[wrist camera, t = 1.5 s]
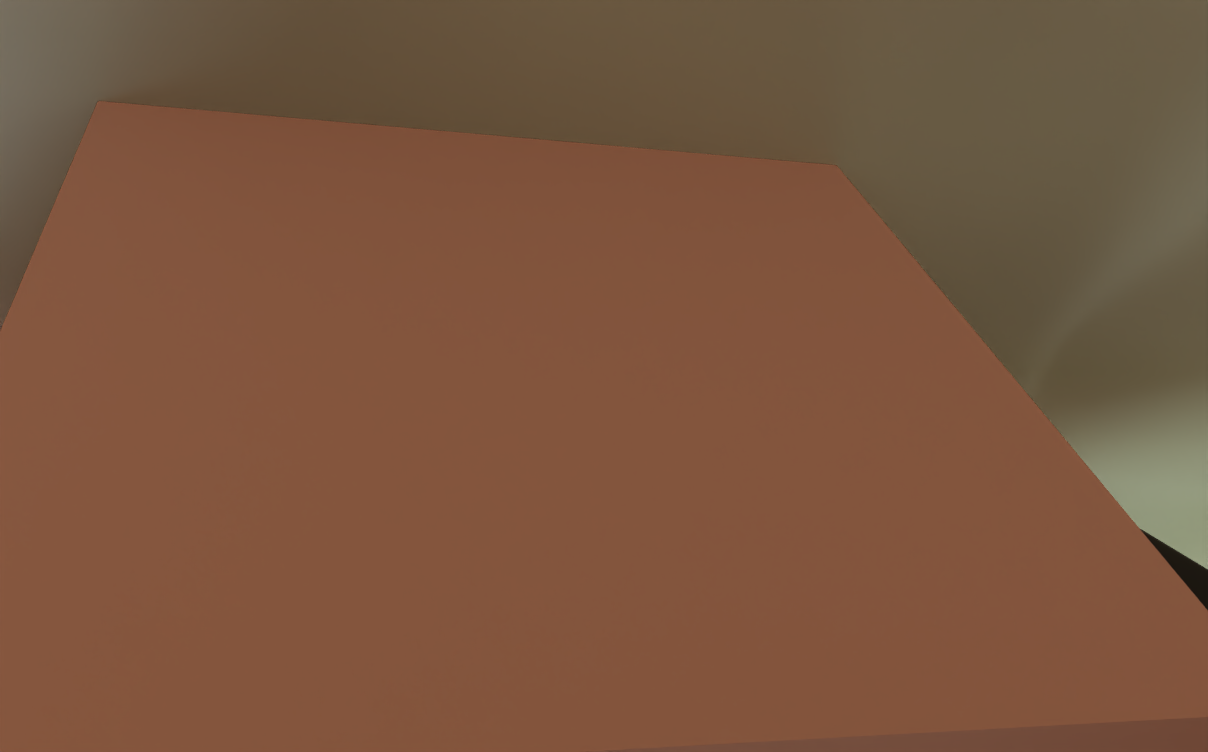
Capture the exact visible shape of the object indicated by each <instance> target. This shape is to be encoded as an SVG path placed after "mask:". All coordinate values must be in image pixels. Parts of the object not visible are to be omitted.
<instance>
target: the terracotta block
mask: <svg viewBox="0 0 1208 752" xmlns="http://www.w3.org/2000/svg"><path fill="white" fill-rule="evenodd" d="M0 752H1208V610H1207V609H1206V608H1205V607H1204V605H1203V604H1202V603H1201V602H1200V601H1199V599H1198V598H1197V597H1196V596H1195V595H1194V593H1193V592H1192V591H1191V590H1190V589H1189V587H1188V586H1187V585H1186V584H1185V583H1184V581H1183V580H1182V579H1181V578H1180V577H1179V575H1178V574H1177V573H1176V572H1175V571H1174V569H1173V568H1172V567H1171V566H1170V565H1169V563H1168V562H1167V561H1166V560H1165V559H1164V557H1163V556H1162V555H1161V554H1160V553H1159V551H1158V550H1157V549H1156V548H1155V547H1154V545H1153V544H1152V543H1151V542H1150V541H1149V539H1148V538H1147V537H1146V536H1145V535H1144V533H1143V532H1142V531H1141V530H1140V529H1139V527H1138V526H1137V525H1136V524H1135V523H1134V521H1133V520H1132V519H1131V518H1130V517H1129V515H1128V514H1127V513H1126V512H1125V511H1124V509H1123V508H1122V507H1121V506H1120V505H1119V503H1118V502H1117V501H1116V500H1115V499H1114V497H1113V496H1112V495H1111V494H1110V493H1109V491H1108V490H1107V489H1106V488H1105V487H1104V485H1103V484H1102V483H1101V482H1100V481H1099V479H1098V478H1097V477H1096V476H1095V475H1094V473H1093V472H1092V471H1091V470H1090V469H1089V467H1088V466H1087V465H1086V464H1085V463H1084V461H1083V460H1082V459H1081V458H1080V457H1079V455H1078V454H1077V453H1076V452H1075V451H1074V449H1073V448H1072V447H1071V446H1070V445H1069V443H1068V442H1067V441H1066V440H1065V439H1064V437H1063V436H1062V435H1061V434H1060V433H1059V431H1058V430H1057V429H1056V428H1055V427H1054V425H1053V424H1052V423H1051V422H1050V421H1049V419H1048V418H1047V417H1046V416H1045V415H1044V413H1043V412H1042V411H1041V410H1040V409H1039V407H1038V406H1037V405H1036V404H1035V403H1034V401H1033V400H1032V399H1031V398H1030V397H1029V395H1028V394H1027V393H1026V392H1025V391H1024V389H1023V388H1022V387H1021V386H1020V385H1019V383H1018V382H1017V381H1016V380H1015V379H1014V377H1013V376H1012V375H1011V374H1010V373H1009V371H1008V370H1007V369H1006V368H1005V367H1004V365H1003V364H1002V363H1001V362H1000V361H999V359H998V358H997V357H996V356H995V355H994V353H993V352H992V351H991V350H990V349H989V347H988V346H987V345H986V344H985V343H984V341H983V340H982V339H981V338H980V337H979V335H978V334H977V333H976V332H975V331H974V329H973V328H972V327H971V326H970V325H969V323H968V322H967V321H966V320H965V319H964V317H963V316H962V315H961V314H960V313H959V311H958V310H957V309H956V308H955V307H954V305H953V304H952V303H951V302H950V301H949V299H948V298H947V297H946V296H945V295H944V293H943V292H942V291H941V290H940V289H939V287H938V286H937V285H936V284H935V283H934V281H933V280H932V279H931V278H930V277H929V275H928V274H927V273H926V272H925V271H924V269H923V268H922V267H921V266H920V265H919V263H918V262H917V261H916V260H915V259H914V257H913V256H912V255H911V254H910V253H909V251H908V250H907V249H906V248H905V247H904V245H903V244H902V243H901V242H900V241H899V239H898V238H897V237H896V236H895V235H894V233H893V232H892V231H891V230H890V229H889V227H888V226H887V225H886V224H885V223H884V221H883V220H882V219H881V218H880V217H879V215H878V214H877V213H876V212H875V211H874V209H873V208H872V207H871V206H870V205H869V203H868V202H867V201H866V200H865V199H864V197H863V196H862V195H861V194H860V193H859V191H858V190H857V189H856V188H855V187H854V185H853V184H852V183H851V182H850V181H849V179H848V178H847V177H846V176H845V175H844V173H843V172H842V171H841V170H840V169H839V167H838V166H837V165H828V164H817V163H805V162H794V161H782V160H771V159H759V158H748V157H737V156H725V155H714V154H702V153H691V152H679V151H668V150H656V149H645V148H633V147H622V146H610V145H599V144H587V143H576V142H564V141H553V140H541V139H530V138H518V137H507V136H495V135H484V134H472V133H461V132H449V131H438V130H426V129H415V128H403V127H392V126H380V125H369V124H357V123H346V122H334V121H323V120H311V119H300V118H288V117H277V116H265V115H254V114H242V113H231V112H219V111H208V110H196V109H185V108H173V107H162V106H150V105H139V104H127V103H116V102H104V101H98V102H97V104H96V107H95V109H94V111H93V114H92V116H91V118H90V121H89V123H88V125H87V128H86V130H85V132H84V135H83V137H82V140H81V142H80V144H79V147H78V149H77V151H76V154H75V156H74V158H73V161H72V163H71V165H70V168H69V170H68V172H67V175H66V177H65V180H64V182H63V184H62V187H61V189H60V191H59V194H58V196H57V198H56V201H55V203H54V205H53V208H52V210H51V213H50V215H49V217H48V220H47V222H46V224H45V227H44V229H43V231H42V234H41V236H40V238H39V241H38V243H37V245H36V248H35V250H34V253H33V255H32V257H31V260H30V262H29V264H28V267H27V269H26V271H25V274H24V276H23V278H22V281H21V283H20V286H19V288H18V290H17V293H16V295H15V297H14V300H13V302H12V304H11V307H10V309H9V311H8V314H7V316H6V318H5V321H4V323H3V326H2V328H1V330H0Z"/></svg>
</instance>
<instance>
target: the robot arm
mask: <svg viewBox="0 0 1208 752" xmlns="http://www.w3.org/2000/svg"><path fill="white" fill-rule="evenodd" d="M1139 529H1140V528H1139ZM1140 530H1141V529H1140ZM1141 531H1142V532H1143V533H1144V535H1145V536H1146V537H1147V538H1148V539H1149V541H1150V542H1151V543H1152V544H1153V545H1154V547H1155V548H1156V549H1157V550H1158V551H1159V553H1160V554H1161V555H1162V556H1163V557H1164V559H1165V560H1166V561H1167V562H1168V563H1169V565H1170V566H1171V567H1172V568H1173V569H1174V571H1175V572H1176V573H1177V574H1178V575H1179V577H1180V578H1181V579H1182V580H1183V581H1184V583H1185V584H1186V585H1187V586H1188V587H1189V589H1190V590H1191V591H1192V592H1193V593H1194V595H1195V596H1196V597H1197V598H1198V599H1199V601H1200V602H1201V603H1202V604H1203V605H1204V607H1205V608H1206V609H1207V610H1208V569H1206V568H1204V567H1203V566H1201V565H1199V564H1198V563H1196V562H1194V561H1193V560H1191V559H1189V558H1188V557H1186V556H1184V555H1183V554H1181V553H1180V552H1178V551H1176V550H1175V549H1173V548H1171V547H1170V546H1168V545H1166V544H1165V543H1163V542H1161V541H1160V540H1158V539H1156V538H1155V537H1153V536H1151V535H1150V534H1148V533H1146V532H1145V531H1143V530H1141Z"/></svg>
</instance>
